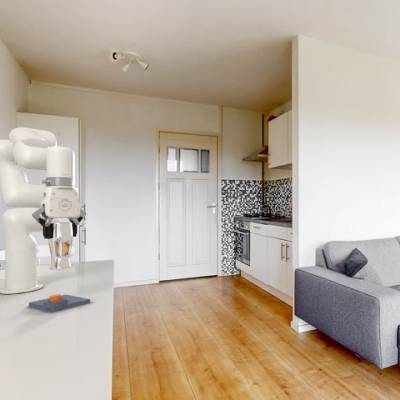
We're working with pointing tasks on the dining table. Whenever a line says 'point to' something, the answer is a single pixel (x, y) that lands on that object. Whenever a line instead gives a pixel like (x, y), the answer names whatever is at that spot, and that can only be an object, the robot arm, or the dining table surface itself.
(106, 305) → the dining table surface
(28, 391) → the dining table surface
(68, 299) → the scale
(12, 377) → the dining table surface
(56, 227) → the beer glass
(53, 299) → the button
